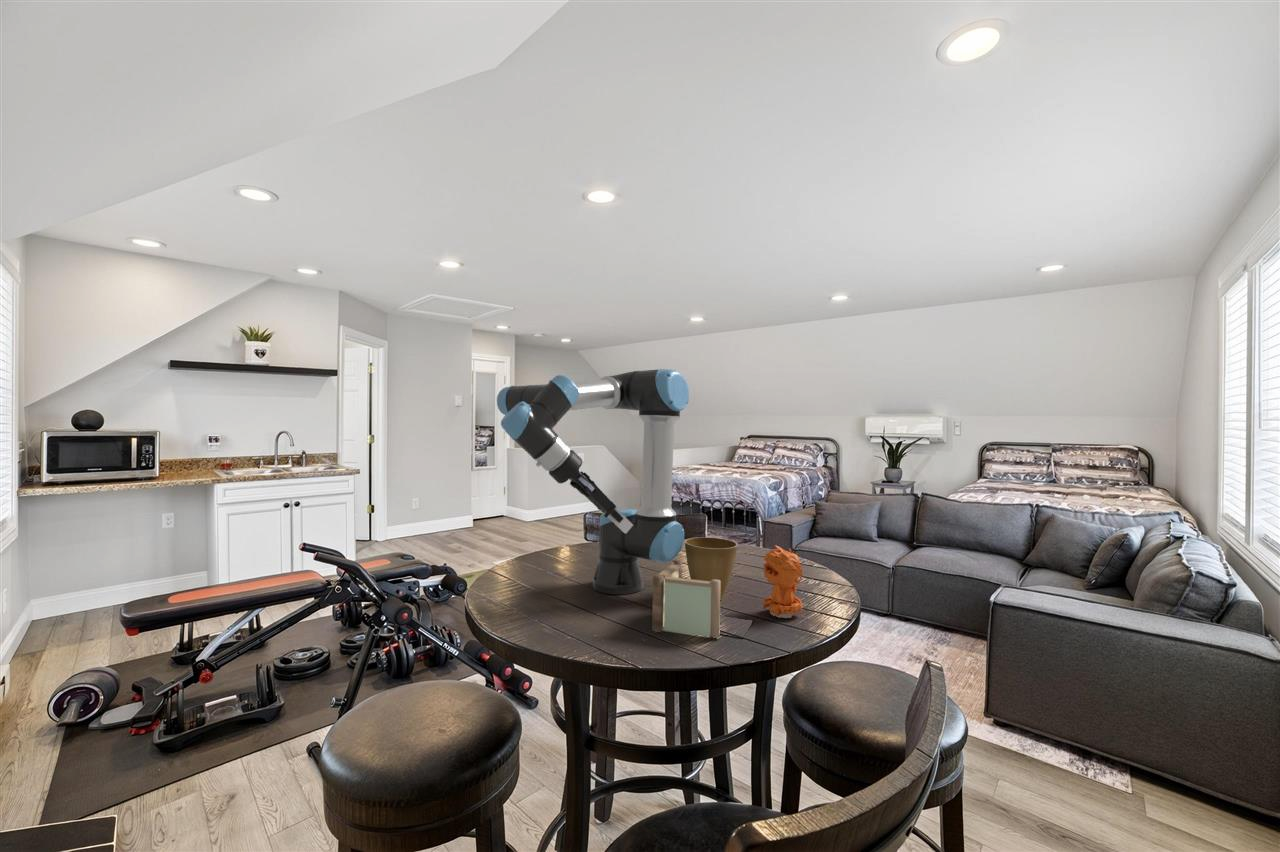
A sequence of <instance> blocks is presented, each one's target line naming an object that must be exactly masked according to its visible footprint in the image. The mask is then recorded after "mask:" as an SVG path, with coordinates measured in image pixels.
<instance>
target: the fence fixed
mask: <svg viewBox="0 0 1280 852" xmlns="http://www.w3.org/2000/svg"><path fill="white" fill-rule="evenodd" d="M666 577H674V578H683V560H681V559H673V563H672V564H671V565H669V566H668V567H667V568H665V569H664V570H661V572H659V573H658V574H654V575H653V576H652V608H651V609H652V612H651V613H652V615H651V617H652V618H651V619H652V620H651V623H652V625H651V626H652V627H651V630H652V631H651V632H653V631H655V632H654V633H656V632H660V633H662V632H661V631H664V628H663V627H664V611H665V578H666Z"/></svg>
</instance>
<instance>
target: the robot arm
mask: <svg viewBox="0 0 1280 852" xmlns="http://www.w3.org/2000/svg"><path fill="white" fill-rule="evenodd" d="M689 401H690V391H689V385H688V383H687V381H686V379H685V378H684V376H683V375H682V373H680V371H678V370H676V369H666V368H659V369H650V370H649V369H648V370H634V371H627V372H623V373H620V374H614V375H607V376H606V375H605V376H602V377H601V378H600V379H599V380H597V379H596V380H595V379H594V380H585V381H573V380H572V379H571V378H570V377H568V376H565V375H561V374H559V375H555V376H554V377H553V378H551V379H549V382H548V383H544V384H528V385H509V386H506V387H503V388H502V389H501V390H499V392H498V394H497V396H496V406H497V408H498V411H499V412H500V413H501V414H502V415H503V417H502V419H501V420H500V426H501V428H502V429H503V430H504V431H505V433H506V434H507V435H508V436H509V437H510V439H511V440H513V441H514V442H516V444H518V445H519V446H520V447H521V448H522V450H524V451H525V452H526V453H527V454H528V455H529V456H530V457H531V458H532V459H533V460H534V461H535V462H536V463H535V465H536V466H537V467H538V468H539V467H540V466H541V467H542V469H544V470H545V471H546V472H547V471H548V475H549V476H550V477H551V478H552V479H553V480H555V482H557V484H565V483H566V482H568V480H570V482H569V485H570V486H571V487H572V488H573V489H576V490H577V492H579V493H580V494H581V495H583V496H584V497H586V498H587V500H589V501H590V502H591V503H592V504H593V505H594V506H595V507H596V508H597V509H598V510H599V511H600V512H601V515H600V517H599V526H598V534H599V535H598V539H599V540H598V543H599V544H598V547H599V548H598V549H599V551H598V552H599V553H598V554H599V555H598V557H599V558H598V564H597V566H596V569H595V572H594V576H593V578H592V588H593V590H595V591H596V592H598V593H599V592H600V593H602V594H606V595H607V594H609V595H629V594H630V595H631V594H634V593H638V592H639V591H642V590H643V588H644V578H643V576H642V571H641V568H640V564H639V562H638V561H639V560H638V559H639V558H640V559H643V560H648V561H651V562H653V563H658V562H659V563H664V564H665V563H666V564H667V563H669V562H672V561H674V560H675V559H676V558H677V556H678V554H679V553H680V552H681V550H682V547H683V545H684V543H685V529H684V528H683V525H682V524H681V523H679V522H678V521H677V512H676V511H675V510H674V509H673V508H672V497H673V492H672V491H673V470H674V469H673V464H674V463H673V462H674V437H675V436H674V435H675V424H676V422H677V421H678V420H679V419H680V415H681V414H680V413H681V411H683V410H685V408H687V405H688V403H689ZM593 408H603V409H605V410H614V409H616V410H617V409H618V410H631V411H638V417H639V418H640V419H641V420H642V422H643V445H642V466H641V467H642V472H641V499H640V500H641V502H640V507H639V508H638V509H636V508H628V509H626V508H625V509H623V508H622V509H618V508H617V505H616V504H614V502H613V501H612V500H611V499H610V498H609V497H608V496H607V495H606V494H605V493H604V492H603V491H602V489H600V488H599V486H598V485H597V484H596V483H595V481H594V480H592V479H591V477H590V476H589V475H588V474H587V473H586V472H583V471H580V469H581V466H582V465H583V459H582V458H581V457H580V456H579V455H578V453H576V452H575V451H574V450H573V449H571V447H570V445H569V444H568V443H567V442H566V441H565V440H564V439H563V438H562V437H561V436H560V435H559V434H557V433H556V431H555V430H554V428H555V426H556V425H558V423H559V422H560V420H561V419H562V418H563V417H564V416H565V415H566V414H567V413H568V412H569V411H577V410H585V409H593Z"/></svg>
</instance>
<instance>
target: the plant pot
mask: <svg viewBox="0 0 1280 852" xmlns="http://www.w3.org/2000/svg"><path fill="white" fill-rule="evenodd" d="M684 548H685V549H684V550H685V556H686V562H687V563H686V564H687V569H688V572H689V573H688V574H689V579H692V580H701V581H710V582H711V580H713V579H717V580H720V581H721V589H720V599H722V600H723V598H724V596H725V594H726V591H727V589H728V586H729V583H730V580H731V577H732V572H733V569H734V566H735V565H734V564H735V560H736V555H737V550H738V543H737V542H736V541H733V540H730V539H728V538H727V539H726V538H720V537H711V536H709V537H707V536H705V537H704V536H703V537H701V536H700V537H691V538H687V539H684Z"/></svg>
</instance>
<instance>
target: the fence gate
mask: <svg viewBox="0 0 1280 852" xmlns="http://www.w3.org/2000/svg"><path fill="white" fill-rule="evenodd" d="M720 589H721V581H720V580H717V579H713V580H711V582H710V581H701V580H692V579H691V578H683V577H682V578H674V577H666V578H665V611H664V628H663V631H665V632H671V633H672V632H674V633H679V634H687V635H694V636H700V635H701V636H702V637H706V636H711V637H719V636H720V637H721V635H720V615H721V601H720ZM711 637H710V638H711ZM720 637H719V638H720Z"/></svg>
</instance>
